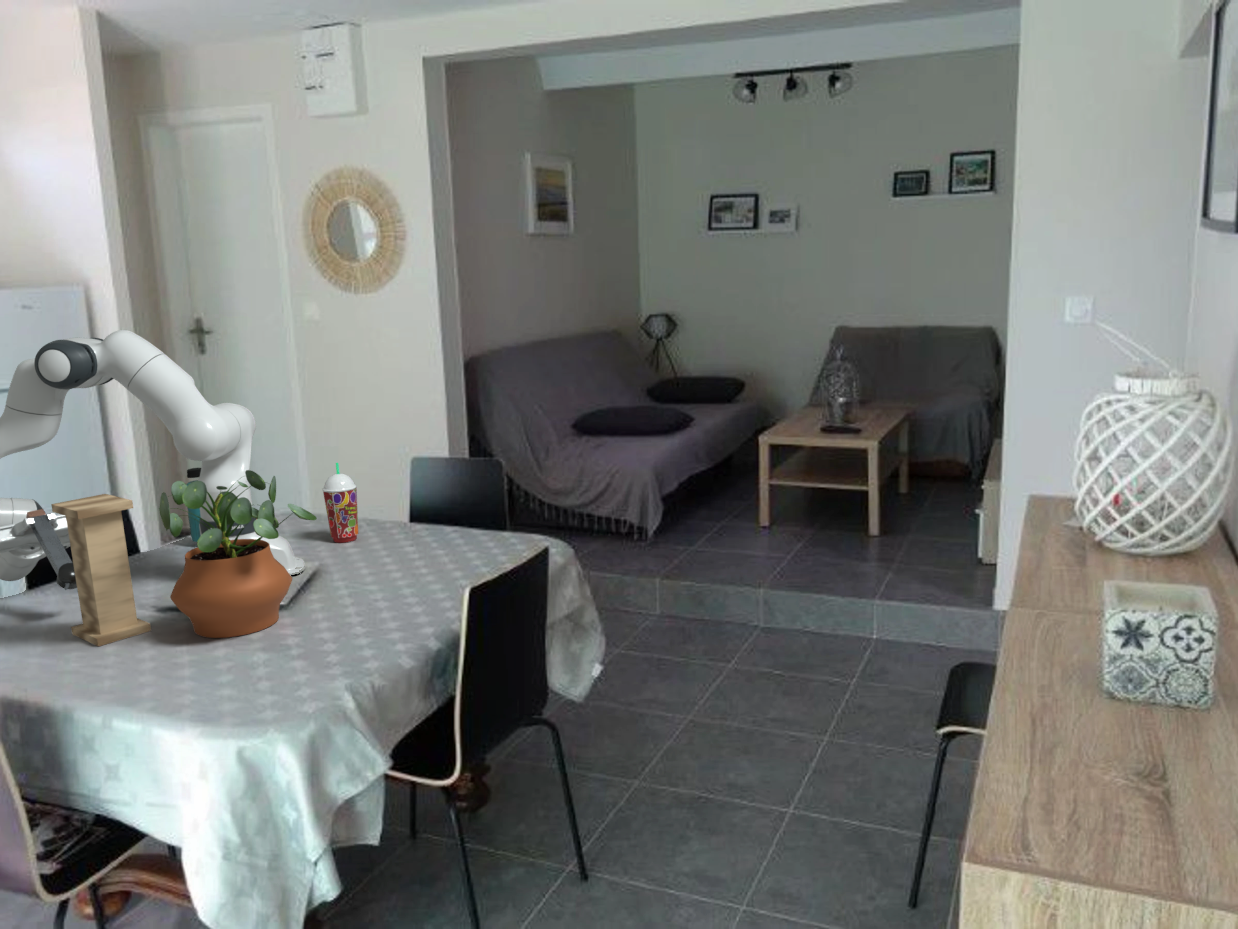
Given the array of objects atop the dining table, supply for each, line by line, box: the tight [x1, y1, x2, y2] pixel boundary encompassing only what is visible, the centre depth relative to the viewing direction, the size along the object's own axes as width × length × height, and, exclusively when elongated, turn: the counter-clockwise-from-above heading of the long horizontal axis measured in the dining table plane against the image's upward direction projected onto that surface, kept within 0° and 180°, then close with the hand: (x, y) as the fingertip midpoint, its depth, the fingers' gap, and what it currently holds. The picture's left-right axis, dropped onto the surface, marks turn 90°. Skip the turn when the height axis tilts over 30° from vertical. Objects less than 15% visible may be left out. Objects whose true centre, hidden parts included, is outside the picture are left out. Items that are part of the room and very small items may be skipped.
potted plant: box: [158, 469, 317, 639], centre depth 199 cm, size 23×28×30 cm
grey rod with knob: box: [26, 508, 77, 591], centre depth 212 cm, size 20×4×3 cm
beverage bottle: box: [185, 467, 201, 543], centre depth 263 cm, size 6×7×20 cm
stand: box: [51, 493, 152, 648], centre depth 198 cm, size 12×10×26 cm
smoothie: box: [322, 462, 359, 544], centre depth 260 cm, size 8×8×20 cm
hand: (41, 518), depth 214 cm, fingers closed on grey rod with knob, 3 cm apart
